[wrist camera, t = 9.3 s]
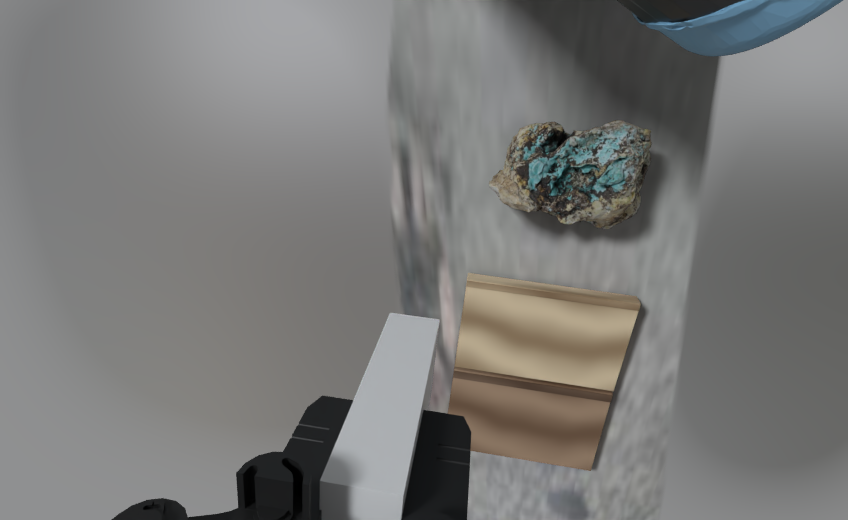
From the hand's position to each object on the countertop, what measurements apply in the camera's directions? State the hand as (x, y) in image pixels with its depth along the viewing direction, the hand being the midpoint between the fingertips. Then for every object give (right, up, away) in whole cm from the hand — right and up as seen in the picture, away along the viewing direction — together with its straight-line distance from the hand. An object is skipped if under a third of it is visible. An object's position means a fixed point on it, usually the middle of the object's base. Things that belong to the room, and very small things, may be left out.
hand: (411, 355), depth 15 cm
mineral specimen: (+13, +11, +29) cm, 34 cm away
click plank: (+12, -4, +34) cm, 37 cm away
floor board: (+11, -13, +38) cm, 42 cm away
